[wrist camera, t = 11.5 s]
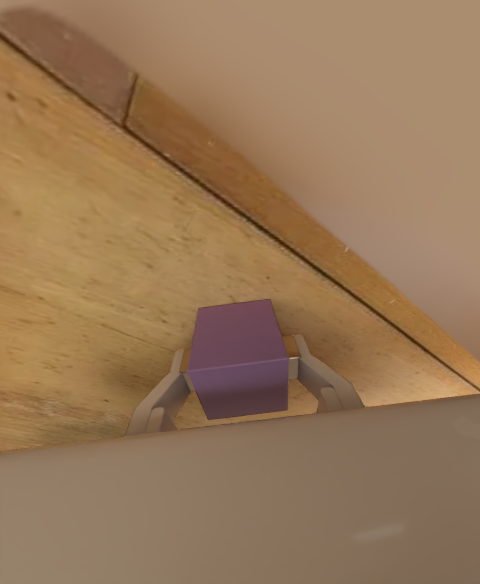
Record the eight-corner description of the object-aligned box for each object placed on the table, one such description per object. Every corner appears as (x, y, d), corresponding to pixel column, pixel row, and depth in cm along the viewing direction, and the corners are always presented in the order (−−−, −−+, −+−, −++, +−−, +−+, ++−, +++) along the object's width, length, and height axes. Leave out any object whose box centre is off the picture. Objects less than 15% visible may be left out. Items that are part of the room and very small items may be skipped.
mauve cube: (197, 308, 12) (186, 371, 9) (270, 298, 12) (289, 358, 9) (212, 355, 15) (207, 420, 11) (272, 347, 15) (288, 410, 11)
